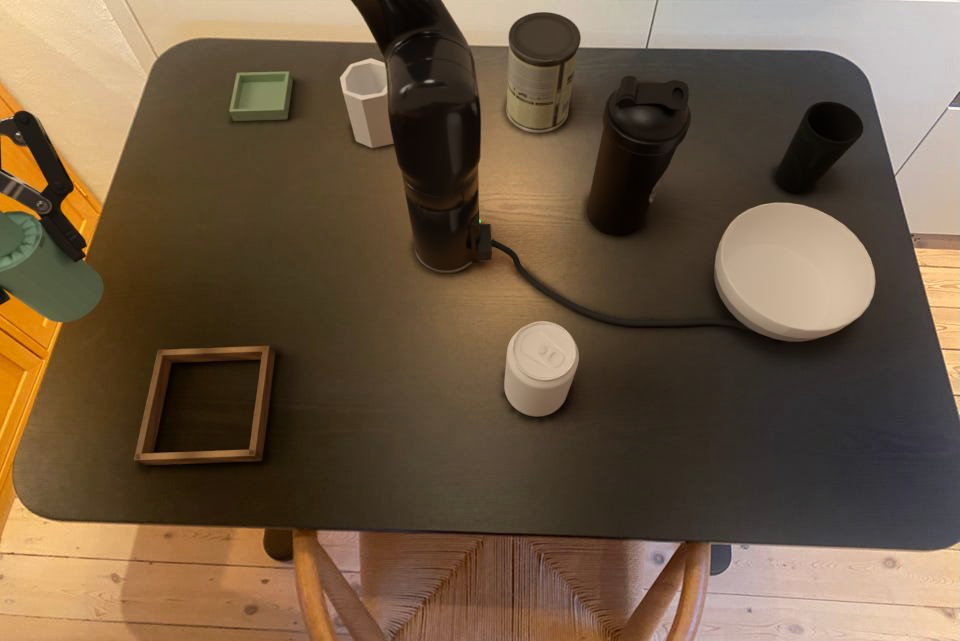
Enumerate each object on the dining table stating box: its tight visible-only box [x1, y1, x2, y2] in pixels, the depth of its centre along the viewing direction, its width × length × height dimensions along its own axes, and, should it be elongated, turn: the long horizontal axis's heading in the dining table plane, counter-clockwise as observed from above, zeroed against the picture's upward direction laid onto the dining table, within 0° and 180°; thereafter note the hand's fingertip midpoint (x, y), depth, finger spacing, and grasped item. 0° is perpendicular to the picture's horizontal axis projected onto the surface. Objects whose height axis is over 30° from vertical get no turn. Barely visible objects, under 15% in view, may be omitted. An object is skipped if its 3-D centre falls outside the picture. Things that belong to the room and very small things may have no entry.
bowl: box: [713, 202, 876, 342], centre depth 79 cm, size 19×19×9 cm
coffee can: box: [505, 11, 582, 134], centre depth 93 cm, size 10×10×14 cm
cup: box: [774, 101, 864, 195], centre depth 87 cm, size 8×8×12 cm
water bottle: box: [586, 75, 692, 237], centre depth 79 cm, size 10×10×23 cm
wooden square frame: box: [133, 345, 276, 466], centre depth 75 cm, size 14×14×3 cm
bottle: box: [0, 209, 105, 323], centre depth 45 cm, size 5×5×11 cm
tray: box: [228, 70, 294, 122], centre depth 99 cm, size 9×9×2 cm
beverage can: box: [503, 320, 580, 417], centre depth 72 cm, size 8×8×12 cm
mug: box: [339, 57, 394, 149], centre depth 93 cm, size 12×9×10 cm
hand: (42, 279), depth 45 cm, fingers closed on bottle, 5 cm apart
